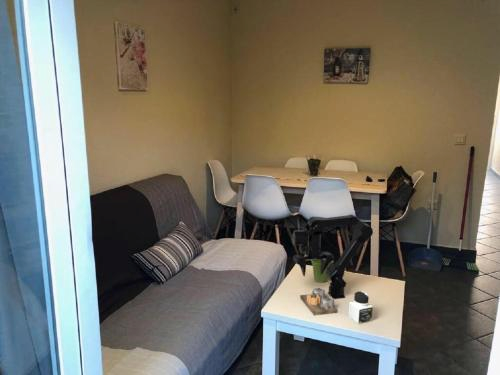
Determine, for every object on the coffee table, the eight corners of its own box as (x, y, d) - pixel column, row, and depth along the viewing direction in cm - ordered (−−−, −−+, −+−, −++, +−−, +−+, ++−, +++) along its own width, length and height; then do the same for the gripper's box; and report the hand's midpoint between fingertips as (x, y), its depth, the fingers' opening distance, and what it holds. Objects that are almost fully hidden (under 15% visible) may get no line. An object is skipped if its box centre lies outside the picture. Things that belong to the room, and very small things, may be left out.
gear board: (321, 295, 198) (322, 285, 197) (336, 312, 182) (337, 301, 181) (300, 298, 196) (300, 287, 194) (313, 315, 179) (314, 303, 178)
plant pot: (328, 275, 223) (330, 255, 221) (334, 284, 212) (335, 264, 209) (307, 275, 223) (308, 255, 220) (312, 284, 211) (313, 264, 209)
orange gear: (316, 298, 192) (317, 292, 191) (321, 304, 186) (322, 298, 186) (305, 299, 191) (305, 293, 190) (310, 305, 185) (310, 299, 184)
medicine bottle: (358, 324, 172) (360, 298, 170) (348, 316, 179) (349, 291, 177) (371, 321, 175) (374, 295, 173) (361, 313, 182) (363, 288, 179)
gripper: (323, 237, 202) (322, 266, 205) (289, 240, 196) (288, 270, 199) (335, 244, 192) (333, 275, 195) (298, 247, 186) (297, 279, 189)
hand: (312, 274), depth 195 cm, fingers open, 9 cm apart
